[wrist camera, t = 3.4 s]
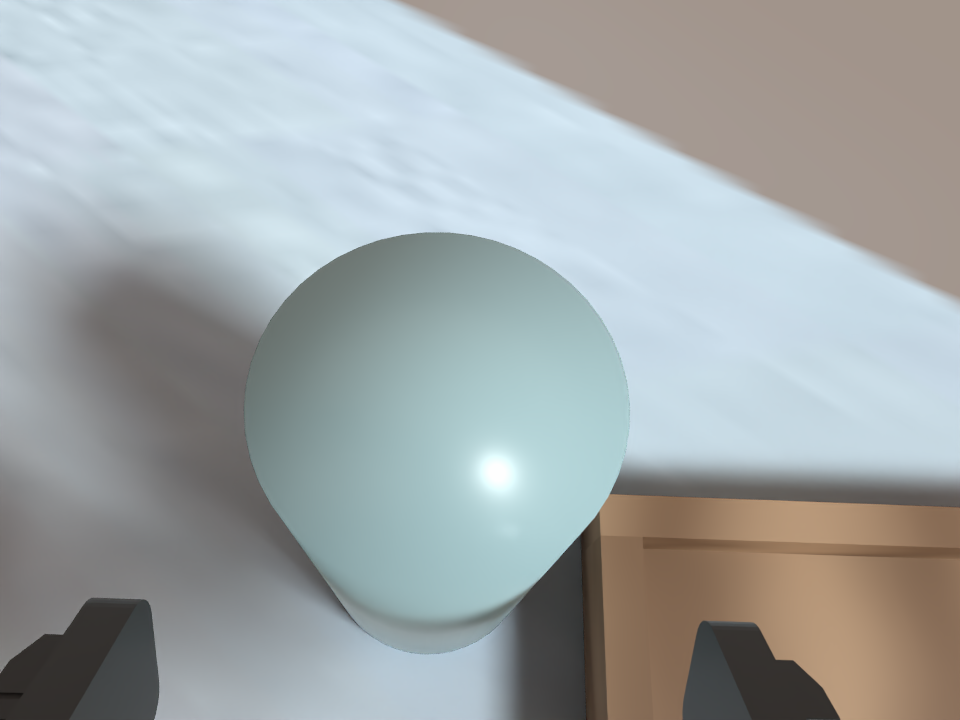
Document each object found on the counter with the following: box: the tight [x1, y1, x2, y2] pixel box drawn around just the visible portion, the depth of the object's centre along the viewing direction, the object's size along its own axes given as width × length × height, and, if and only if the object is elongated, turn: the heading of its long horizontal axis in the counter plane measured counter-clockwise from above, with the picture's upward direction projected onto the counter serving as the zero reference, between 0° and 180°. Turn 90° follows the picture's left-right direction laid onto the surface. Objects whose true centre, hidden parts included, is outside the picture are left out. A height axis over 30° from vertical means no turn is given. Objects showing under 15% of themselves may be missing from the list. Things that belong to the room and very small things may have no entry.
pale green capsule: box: [244, 233, 630, 654], centre depth 16 cm, size 5×5×11 cm
